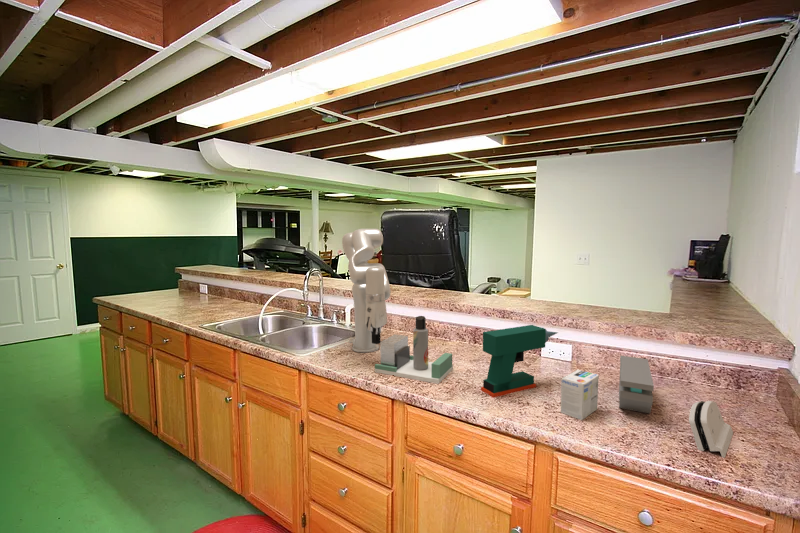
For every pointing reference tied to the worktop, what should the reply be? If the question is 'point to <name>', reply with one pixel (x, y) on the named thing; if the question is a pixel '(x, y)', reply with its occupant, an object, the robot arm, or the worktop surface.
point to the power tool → (511, 357)
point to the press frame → (432, 374)
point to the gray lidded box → (635, 384)
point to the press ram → (395, 351)
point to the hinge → (709, 427)
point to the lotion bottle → (420, 344)
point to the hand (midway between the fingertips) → (376, 343)
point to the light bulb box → (579, 394)
